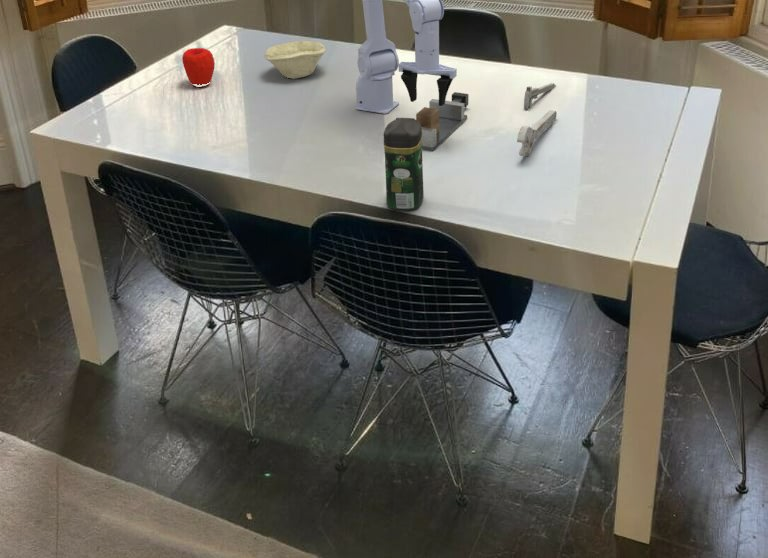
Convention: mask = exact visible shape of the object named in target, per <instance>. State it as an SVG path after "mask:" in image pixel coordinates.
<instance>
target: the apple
mask: <svg viewBox="0 0 768 558" xmlns="http://www.w3.org/2000/svg"><path fill="white" fill-rule="evenodd" d="M181 60H182V64H183V67H184V71H185V74H186V76H187V79H188V81H189V82H190V84H191V83H192V84H197V85H199V84H200V85H202V84H207V83H209V82H210V83H211V82H212V79H213V76H214V72H215V65H216V64H215V58H214V55H213V53H212V52H211V51H210V50H208V49H207V48H204V47H203V48H201V47H193V48H189V49H187V50H185V51H184V52H183V54H182V59H181ZM192 84H191V85H192Z"/></svg>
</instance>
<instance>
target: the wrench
mask: <svg viewBox="0 0 768 558" xmlns="http://www.w3.org/2000/svg"><path fill="white" fill-rule="evenodd" d="M556 121H557V111H556V110H552V109H549V110H548V111H547V112H546V113H545V114H544V115H543V116H542V117H541V118H540V119H539V120H538V121H536V122H535V123H534V124H533V125H532V126H531V127H530V126H527V125H522V126H521V127H520V128H519V132H518V134H517V137H516V143H521V145H522V146H521V147H520V148H519V151H518V156H520V157H530V155H531V151H532V148H533V146H534V144H535V143H536V142H535V141H536V140H538V138H539V137H540V136H541V135H543V134H544V132H546V131H547V130H548V129H549V128H550V127H551V126H552V125H553V124H554V123H555V122H556Z"/></svg>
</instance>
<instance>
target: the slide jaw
mask: <svg viewBox="0 0 768 558" xmlns="http://www.w3.org/2000/svg"><path fill="white" fill-rule="evenodd" d="M428 104H429V105H428V106H429V107H428V108H434V109H439V117H442V118H449V119H455V120H462V119H463V118H464V115H465V108H467V107H468V106H469V93H466V92H465V93H464V92H456V91H454V92H453V93H452V94H451V101H450V100H445V104H444V105H443V106H439V99H438V98H437V99H436V98H432V99H431V100H430V101H429V103H428Z"/></svg>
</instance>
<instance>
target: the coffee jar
mask: <svg viewBox="0 0 768 558" xmlns="http://www.w3.org/2000/svg"><path fill="white" fill-rule="evenodd" d="M383 150H384V152H383V153H384V169H385V191H386V192H385V193H386V197H385V199H386V205H387V206H388V208H390V209H392V210H393V209H394V210H396V211H402V212H403V211H409V210H410V211H411V210H417V208H419V207H420V205H422V202H423V199H424V194H425V193H424V174H423V173H424V171H423V167H424V166H423V149H422V128H421V124H420V123H419V122H418V121H417V120H416V118H413V117H396V118H395V119H393V120H391V121H390V122H389V123H388V124H387V125H386V127H385V129H384V131H383Z"/></svg>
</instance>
